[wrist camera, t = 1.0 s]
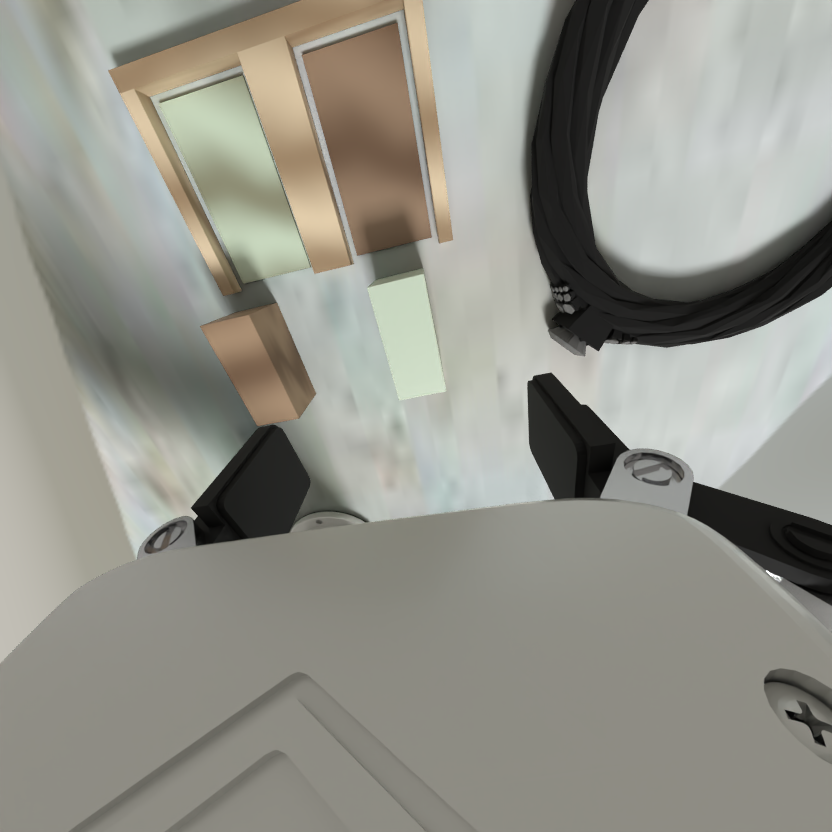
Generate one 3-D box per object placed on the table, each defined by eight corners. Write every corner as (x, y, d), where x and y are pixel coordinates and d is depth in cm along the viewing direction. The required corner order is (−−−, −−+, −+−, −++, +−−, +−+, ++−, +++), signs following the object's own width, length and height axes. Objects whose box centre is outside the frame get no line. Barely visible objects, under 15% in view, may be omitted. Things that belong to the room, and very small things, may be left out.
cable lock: (1239, -9, 14) (678, 428, 28) (1086, 38, 18) (650, 408, 31) (1095, -941, 7) (430, 252, 20) (883, -571, 11) (428, 250, 24)
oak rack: (451, 239, 23) (452, 239, 22) (231, 293, 25) (223, 296, 24) (417, -25, 17) (416, -42, 16) (125, 79, 19) (108, 70, 18)
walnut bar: (316, 393, 30) (299, 418, 26) (280, 400, 31) (257, 426, 26) (277, 302, 26) (248, 314, 21) (236, 312, 26) (199, 326, 22)
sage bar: (442, 368, 29) (446, 391, 24) (402, 376, 29) (399, 400, 25) (423, 267, 24) (423, 273, 20) (376, 279, 25) (367, 287, 20)
